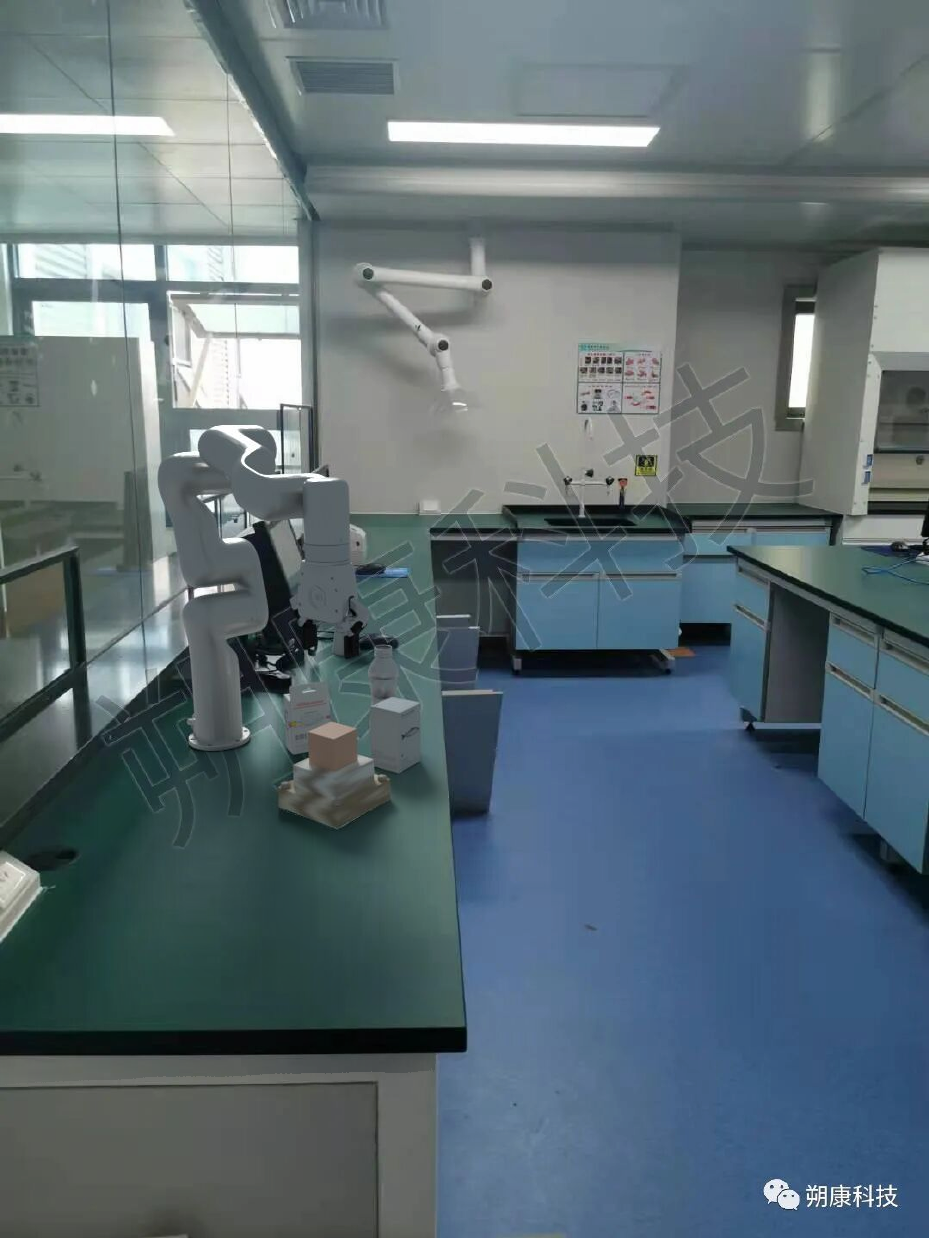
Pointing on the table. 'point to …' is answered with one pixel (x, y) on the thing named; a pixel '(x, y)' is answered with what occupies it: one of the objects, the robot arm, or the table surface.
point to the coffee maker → (340, 639)
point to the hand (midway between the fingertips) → (330, 652)
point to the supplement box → (395, 734)
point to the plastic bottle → (383, 675)
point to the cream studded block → (334, 791)
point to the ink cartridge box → (305, 713)
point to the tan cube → (332, 746)
